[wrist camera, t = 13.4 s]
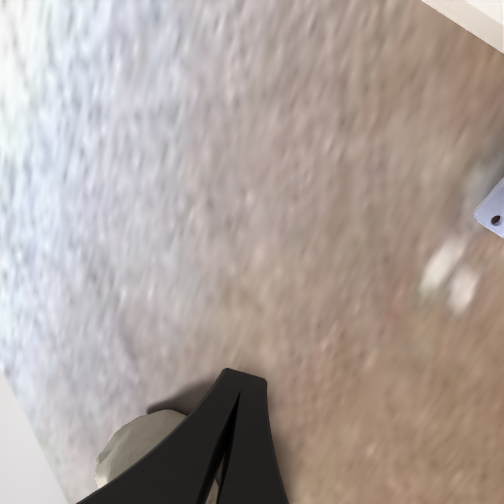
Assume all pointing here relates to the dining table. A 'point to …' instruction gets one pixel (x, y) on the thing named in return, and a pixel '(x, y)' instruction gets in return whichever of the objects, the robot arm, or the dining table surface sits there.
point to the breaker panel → (476, 18)
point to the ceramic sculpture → (138, 445)
